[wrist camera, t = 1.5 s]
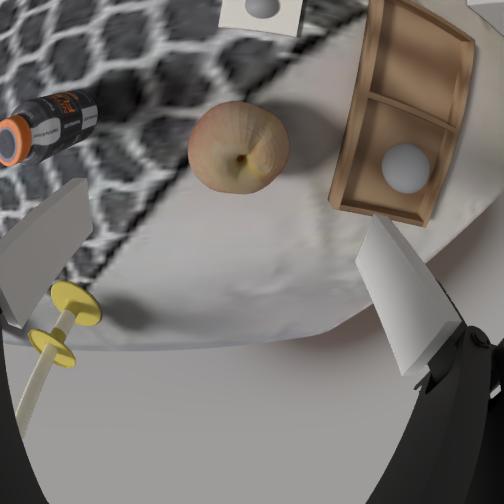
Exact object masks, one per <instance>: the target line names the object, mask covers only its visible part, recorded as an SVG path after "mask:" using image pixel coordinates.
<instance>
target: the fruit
mask: <svg viewBox="0 0 504 504" xmlns="http://www.w3.org/2000/svg"><path fill="white" fill-rule="evenodd" d="M289 147H290V142H289V138H288V135H287V132H286V130H285V128H284V125H283V124H282V123H281V122H280V120H279V119H278V118H277V117H276V116H274V115H273V114H271V113H269V112H267V111H265V110H263V109H261V108H259V107H257V106H255V105H253V104H250V103H245V102H234V101H230V102H226V103H223V104H220V105H218V106H215V107H213V108H211V109H210V110H209V111H208V112H207V113H205V114H204V115H203V116H202V118H201V119H200V120H199V121H198V123H197V124H196V126H195V128H194V130H193V132H192V135H191V137H190V139H189V144H188V158H189V162H190V165H191V169H192V170H193V172H194V174H195V175H196V177H197V178H198V179H199V180H200V181H201V182H202V183H203V184H205V185H206V186H208V187H209V188H210V189H213V190H215V191H218V192H223V193H234V194H251V193H255V192H257V191H259V190H261V189H263V188H264V187H266V186H267V185H269V184H270V183H271V182H272V181H273V180H274V179H275V178H276V177H277V176H278V174H279V173H280V172H281V171H282V169H283V167H284V166H285V164H286V162H287V159H288V156H289Z"/></svg>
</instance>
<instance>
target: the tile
mask: <svg viewBox="0 0 504 504" xmlns="http://www.w3.org/2000/svg"><path fill="white" fill-rule="evenodd" d="M302 1H303V0H223V3H222V9H221V14H220V20H219V25H218V27H219V28H232V29H243V30H252V31H260V32H267V33H273V34H279V35H285V36H290V37H295V38H296V36H297V30H298V24H299V18H300V13H301V7H302Z"/></svg>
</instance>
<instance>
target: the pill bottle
mask: <svg viewBox="0 0 504 504" xmlns="http://www.w3.org/2000/svg"><path fill="white" fill-rule="evenodd" d="M97 117H98V112H97V106H96V103H95V101H94V99H93V97H92V96H91V95H90V94H89V93H87V92H85V91H82V90H74V91H68V92H62V93H57V94H52V95H48V96H44V97H39V98H35V99H31V100H28V101H25V102H23V103H22V104H20V105H19V106H18V107H17V108H16V109H15V110H14V111H13V113H12V114H11V116H10V117H9V118H6V119H4V120H3V121H1V122H0V162H1V163H2V164H4V165H6V166H13V165H15V164H17V163H21V164H23V165H27V166H31V165H36V164H38V163H40V162H42V161H43V160H45V159H47V158H49V157H51V156H53V155H54V154H56V153H58V152H60V151H62V150H64V149H66V148H68V147H70V146H72V145H74V144H76V143H78V142H81V141H82V140H84V139H86V138H87V137H88V136H89V135H90V134H91V133H92V131H93V130H94V128H95V126H96V122H97Z"/></svg>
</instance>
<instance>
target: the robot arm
mask: <svg viewBox="0 0 504 504" xmlns="http://www.w3.org/2000/svg"><path fill="white" fill-rule="evenodd" d="M92 231H93V226H92V220H91V212H90V205H89V196H88V186H87V178H73V179H72V180H70V181H69V182H68V183H66V184H65V185H64V186H62V187H61V188H60V189H58V190H57V191H56V192H54V193H53V194H52V195H50V196H49V197H48V198H47V199H45V200H44V201H43V202H42V203H40V204H39V205H38V206H37V207H36V208H34V209H33V210H32V211H31V212H30V213H28V214H27V215H26V216H25V217H24V218H23V219H22V220H20V221H19V222H18V223H17V224H16V225H15V226H14V227H13V228H12V229H11V230H9V231H8V232H7V233H6V234H5V235H4V236H3V237H2V238H1V239H0V314H1V313H3V315H4V316H5V318H6V320H7V322H8V324H10V325H13V326H15V327H18V328H20V329H22V328H23V327H24V325H25V323H26V322H27V320H28V318H29V317H30V315H31V314H32V312H33V310H34V309H35V307H36V306H37V304H38V303H39V301H40V300H41V298H42V297H43V295H44V294H45V292H46V291H47V290H48V288H49V287H50V285H51V284H52V282H53V281H54V280H55V278H56V277H57V275H58V274H59V273H60V271H61V270H62V269H63V267H64V266H65V265H66V263H67V262H68V261H69V259H70V258H71V257H72V256H73V254H74V253H75V252H76V251H77V249H78V248H79V247H80V246H81V244H82V243H83V242H84V241H85V239H86V238H87V237H88V236H89V235H90V233H91V232H92ZM355 263H356V265H357V268H358V270H359V272H360V274H361V276H362V278H363V280H364V283H365V285H366V287H367V289H368V292H369V294H370V296H371V298H372V301H373V303H374V305H375V308H376V310H377V312H378V315H379V317H380V319H381V322H382V325H383V327H384V330H385V332H386V334H387V337H388V340H389V342H390V345H391V347H392V350H393V353H394V355H395V358H396V361H397V364H398V366H399V369H400V372H401V375H402V376H406V375H415V374H418V373H419V372H420V371H421V370H422V369H423V368H424V366H426V365H427V364H428V366H429V369H430V371H429V372H428V373H427V374H426V376H425V377H424V378H423V379H422V380H421V381H420V382H419V383H418V384H417V385H416V386H415V388H414V390H417V389H418V388H419V387H420V386H422V387H421V390H420V391H419V396H418V399H417V401H416V404H415V407H414V409H413V412H412V415H411V417H410V419H409V422H408V424H407V426H406V429H405V431H404V433H403V436H402V438H401V440H400V442H399V444H398V446H397V448H396V450H395V453H394V455H393V457H392V459H391V460H390V462H389V464H388V466H387V468H386V470H385V472H384V474H383V475H382V477H381V479H380V481H379V482H378V484H377V486H376V487H375V489H374V491H373V492H372V494H371V496H370V497H369V499H368V501H367V502H366V504H504V338H503V339H502V341H501V342H500V343H499V344H498V346H496V345H493V344H491V343H490V341H489V339H488V337H487V336H486V334H485V333H484V332H483V331H482V330H481V329H479V328H477V327H475V326H467V325H466V323H465V321H464V320H463V318H462V316H461V315H460V313H459V311H458V310H457V308H456V307H455V305H454V303H453V302H451V299H450V297H449V296H448V294H446V291H445V290H444V288H443V287H442V285H441V284H440V283H439V282H438V281H437V280H436V279H435V278H434V277H433V275H432V274H431V272H430V271H429V269H428V268H427V267H426V265H425V264H424V262H423V261H422V260H421V258H420V257H419V256H418V254H417V253H416V252H415V250H414V249H413V248H412V246H411V245H410V244H409V242H408V241H407V240H406V239H405V237H404V236H403V235H402V233H401V232H400V231H399V230H398V228H397V227H396V226H395V225H394V224H393V222H392V221H391V220H390V219H389V217H388V216H384V215H379V214H375V213H374V214H373V217H372V220H371V222H370V225H369V228H368V231H367V233H366V236H365V238H364V241H363V244H362V246H361V249H360V251H359V254H358V256H357V259H356V261H355ZM498 385H500V386H501V391H500V392H499V393H498V394H497V395H496V396H495V397H494V398H492V399H491V397H490V393H491V392H492V391H493V390H494V389H495V388H497V387H498ZM0 504H49V503H48V502H47V500H46V498H45V497H44V495H43V493H42V490H41V488H40V486H39V484H38V482H37V479H36V477H35V474H34V472H33V470H32V467H31V464H30V462H29V459H28V456H27V454H26V450H25V448H24V444H23V441H22V438H21V435H20V432H19V428H18V424H17V421H16V417H15V413H14V409H13V405H12V400H11V395H10V390H9V385H8V379H7V373H6V366H5V358H4V349H3V337H2V325H1V322H0Z"/></svg>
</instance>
